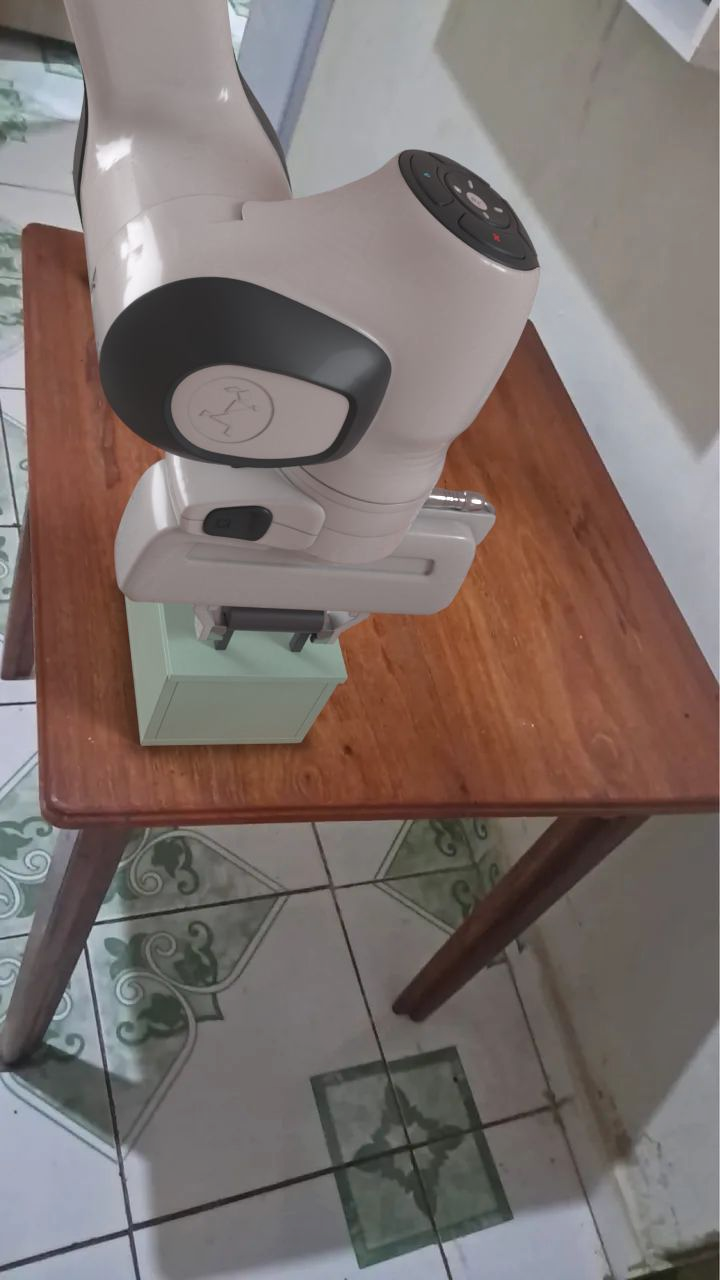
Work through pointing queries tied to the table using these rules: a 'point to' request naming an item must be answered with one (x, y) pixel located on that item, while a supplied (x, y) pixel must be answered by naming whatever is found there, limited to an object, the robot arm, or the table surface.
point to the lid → (250, 647)
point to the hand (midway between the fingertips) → (263, 633)
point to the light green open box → (211, 698)
